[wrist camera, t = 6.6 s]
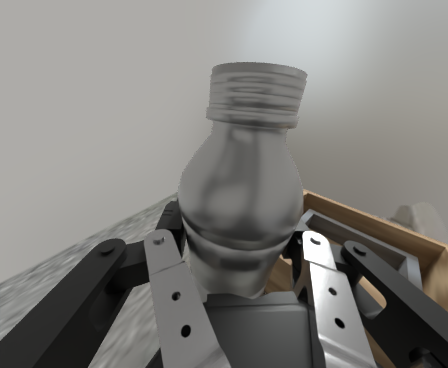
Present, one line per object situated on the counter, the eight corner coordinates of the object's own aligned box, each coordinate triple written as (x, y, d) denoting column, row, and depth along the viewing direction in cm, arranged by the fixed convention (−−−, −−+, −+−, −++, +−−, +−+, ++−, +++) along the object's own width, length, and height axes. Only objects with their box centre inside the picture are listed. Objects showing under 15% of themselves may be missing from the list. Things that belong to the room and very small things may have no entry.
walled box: (458, 471, 10) (558, 459, 7) (238, 266, 21) (244, 232, 18) (424, 279, 21) (457, 248, 19) (295, 214, 32) (304, 189, 30)
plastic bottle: (237, 406, 11) (412, 25, 2) (168, 339, 14) (125, 52, 5) (264, 313, 16) (348, 88, 7) (209, 278, 19) (223, 84, 10)
